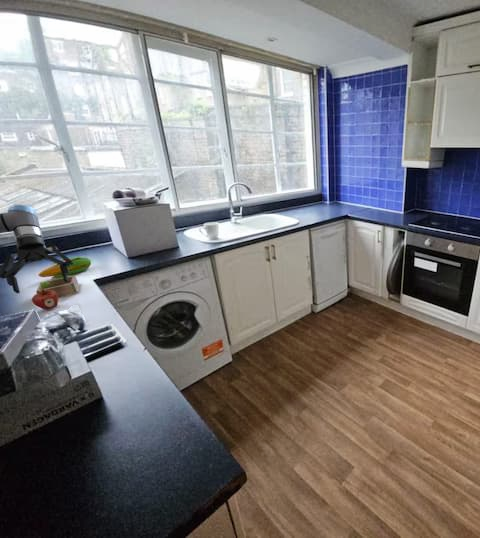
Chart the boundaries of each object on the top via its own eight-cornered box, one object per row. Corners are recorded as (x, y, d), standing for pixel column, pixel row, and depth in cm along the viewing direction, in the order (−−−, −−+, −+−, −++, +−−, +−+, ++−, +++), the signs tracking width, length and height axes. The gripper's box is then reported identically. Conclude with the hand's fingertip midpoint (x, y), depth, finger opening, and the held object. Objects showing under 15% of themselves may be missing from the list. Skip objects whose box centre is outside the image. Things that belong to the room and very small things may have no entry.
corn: (90, 254, 148) (37, 268, 132) (97, 268, 151) (45, 283, 134) (84, 252, 151) (31, 266, 135) (90, 266, 154) (39, 281, 138)
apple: (60, 309, 113) (48, 286, 109) (35, 315, 109) (22, 291, 105) (64, 301, 119) (53, 279, 115) (41, 306, 115) (29, 283, 111)
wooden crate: (41, 301, 119) (35, 291, 117) (45, 292, 127) (40, 282, 125) (77, 293, 125) (73, 283, 123) (79, 284, 133) (74, 275, 131)
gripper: (74, 238, 127) (87, 280, 123) (-12, 252, 113) (-1, 300, 108) (68, 228, 121) (81, 272, 117) (-24, 242, 107) (-12, 292, 102)
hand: (42, 286), depth 112 cm, fingers open, 13 cm apart
